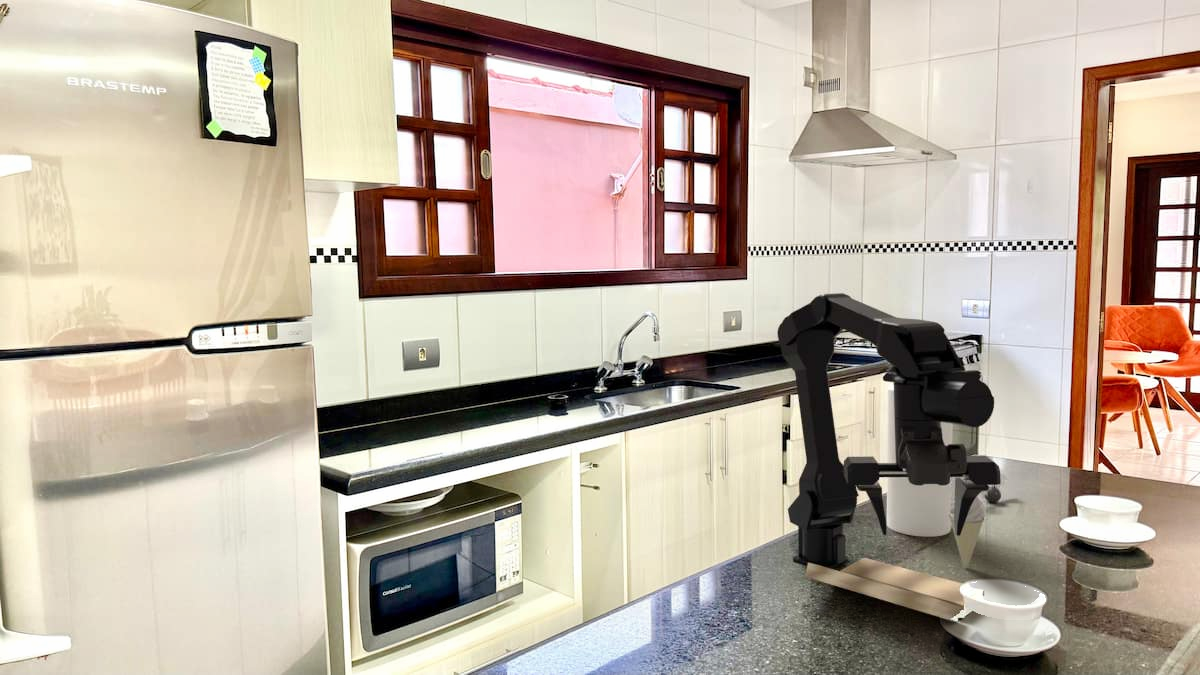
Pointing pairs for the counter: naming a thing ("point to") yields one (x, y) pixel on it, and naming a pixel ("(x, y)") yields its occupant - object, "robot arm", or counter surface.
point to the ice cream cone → (969, 530)
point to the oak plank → (883, 591)
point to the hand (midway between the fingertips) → (920, 534)
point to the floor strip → (907, 580)
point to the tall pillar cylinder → (916, 492)
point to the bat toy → (994, 491)
